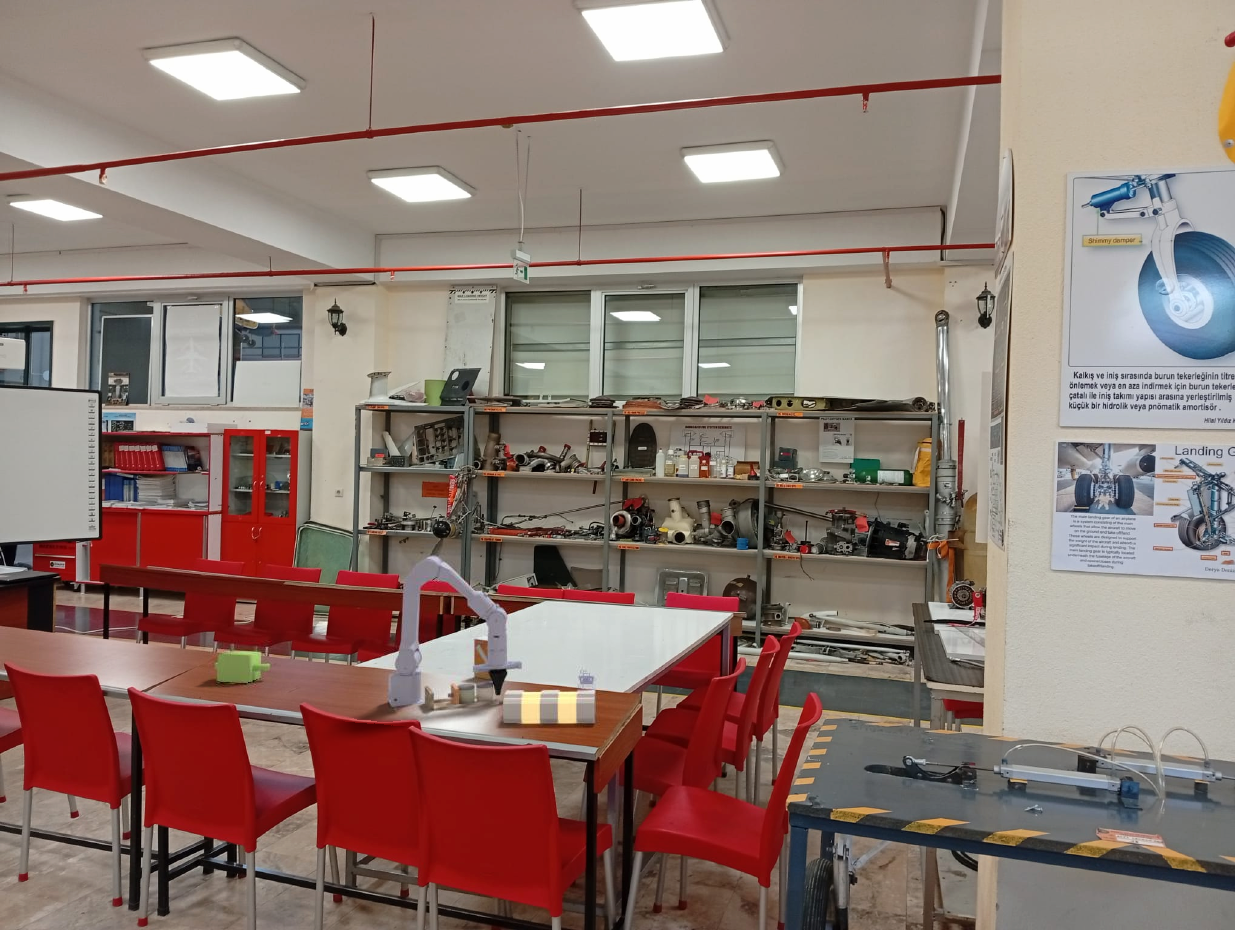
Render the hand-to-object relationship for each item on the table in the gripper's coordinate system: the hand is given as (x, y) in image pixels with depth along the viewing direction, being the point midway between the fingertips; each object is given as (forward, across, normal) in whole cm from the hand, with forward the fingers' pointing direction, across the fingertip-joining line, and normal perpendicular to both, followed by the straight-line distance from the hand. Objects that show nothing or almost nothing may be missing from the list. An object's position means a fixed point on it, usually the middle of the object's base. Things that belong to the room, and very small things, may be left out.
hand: (497, 694), depth 262 cm
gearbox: (+2, -71, +59) cm, 92 cm away
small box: (+2, +5, +31) cm, 31 cm away
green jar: (+1, -10, 0) cm, 10 cm away
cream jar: (+1, -4, 0) cm, 4 cm away
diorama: (+3, +9, -24) cm, 26 cm away
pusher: (+1, -14, 0) cm, 14 cm away
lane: (+2, -11, 0) cm, 11 cm away
